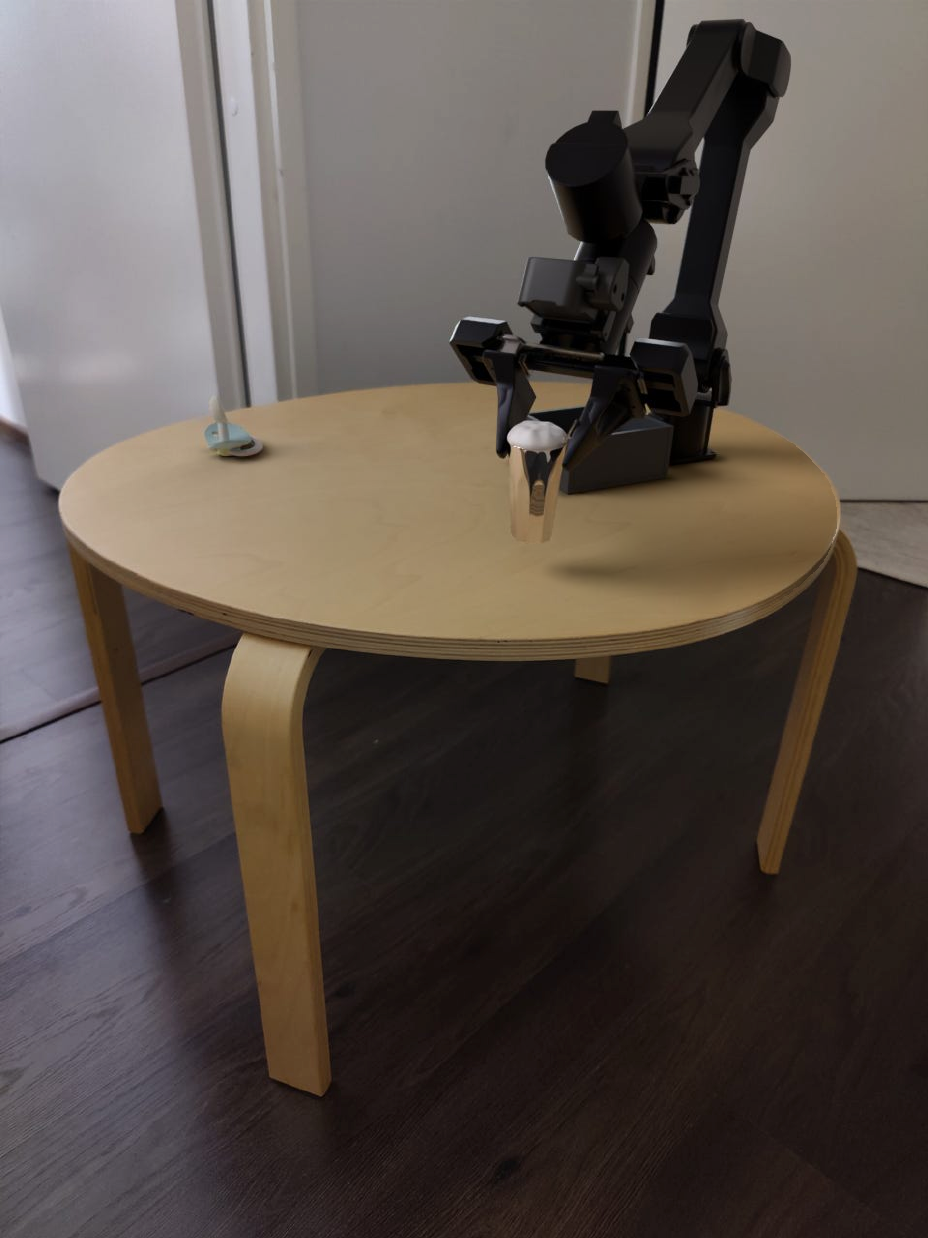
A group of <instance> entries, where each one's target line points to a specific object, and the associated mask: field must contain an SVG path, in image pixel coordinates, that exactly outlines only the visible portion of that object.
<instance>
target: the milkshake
mask: <svg viewBox="0 0 928 1238" xmlns="http://www.w3.org/2000/svg"><path fill="white" fill-rule="evenodd" d="M577 420H578V419H576V420H575V422H574V424H573V425H572V427H571V429H570V431H569V433H568V435H567V434H566V433H565V432H564V430H563V429H561V428H560V427H558V426H556V425H555V424H553V423H551V422H540V421H523V422H522V423H520V424H518V425H516V426H514V427H513V428H512V429H511V430H510V432H509V433H508V436H507V444H508V454H507V459H508V479H509V516H510V536H511V537H512V538H513V539H514V540H515V541H517V542H520V543H524V544H527V545H528V544H530V545H534V544H539V545H540V544H543V543H546V542H549V541H550V540H551V538H552V536H553V531H554V526H555V518H556V511H557V505H558V499H559V491H560V489H559V486H560V480H561V475H562V470H563V467H562V462H563V458H564V455H565V452H566V448H567V442H568V438H569V436H570V434H571V432H572V430H573V428H574V426H575V424H576V422H577Z"/></svg>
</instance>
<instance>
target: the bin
mask: <svg viewBox="0 0 928 1238" xmlns="http://www.w3.org/2000/svg"><path fill="white" fill-rule="evenodd" d="M585 406H586V404H585V405H576V406H567V407H561V408H552V409H544V410H535V411H530V412H529V414H528V416H527V418H526V420H525V421H540V422H551V423H553V424H555V425H556V426H558V427H560V428H561V429H563V430H564V432H565V433H566V434H567V435H568V433H569V431H570V429H571V427H572V425H573V424H574V422H575V420H576V419H578V420H577V422H576V424H575V426H574V428H573V430H572V432H571V434H570V436H569V438H568V442H567V446H568V443H569V441H570V439H571V437H572V435H573V432H574V430H575V428H576V426H577V423H578V421H579V419H580V417H581V415H582V412H583V410H584V408H585ZM673 430H674V426H672V425H670V424H667V423H665V422H663V421H660V420H658V419H656V418H654V417H651V416H649V415H648V413H646V415H645V417H644V418H643V419H637V418H634V419H631V420H630V421H629V422H627V423H626V424H625V425H623V426H622V427H621V428H619V429H618V430H617V431H615V432H614V433H613V434H611V435H610V436H609V437H607V438H606V439H605V440H604V441H603V442H602V443H601V444H599V445H598V446H597V447H596V448H595V449H594V450H593V451H592V452H591V453H590V454H589V455H588V456H587V457H585V458H584V459H583V460H582V461H581V462H580V463H579V464H578V465H577V466H576V467H575V468H574V469H573V470H572V471H570V472H565V471H564V469H563V470H562V475H561V480H560V486H559V491H561V492H563V493H565V495H572V494H578V493H584V492H590V491H597V490H601V489H607V488H615V487H620V486H625V485H632V484H638V483H645V482H649V481H656V480H662V479H667V478H668V472H669V466H670V464H669V459H670V452H671V444H672V437H673ZM566 449H567V448H566Z"/></svg>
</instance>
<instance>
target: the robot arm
mask: <svg viewBox="0 0 928 1238" xmlns="http://www.w3.org/2000/svg"><path fill="white" fill-rule="evenodd" d="M791 70H792V56H791V53H790V51H789V49H788V48H787V45H786V44H785V42H784V40H782V39H780V38H777V37H775V36H772V35H770V34H768V33H765V32H763V31H760V30H758V29H757V28H756V27H755V25H754V24H753V22H751V21H746V20H745V19H744V18H732V19H731V18H730V19H729V18H728V19H711V20H710V19H709V20H706V19H705V20H701V21H700V22H699V23H694V24H693V25H692V26H691V27H690V29H689V31H688V34H687V38H686V43H685V48H684V51H683V53H682V54H681V56H680V58H679V59H678V61H677V63H676V65H675V66H674V68H673V70H672V71H671V74H670V76H669V77H668V79H667V80H666V81H665V83H664V86H663V87H662V88H661V90H660V93H659V94H658V96H657V97H656V99H655V101H654V102H653V104H652V106H651V108H650V109H649V112H648V113H647V114H646V116H645V117H644V118H642V119H640V120H637V121H636V122H634V123H632V124H629V125H627V126H626V127H623V123H622V119H621V116H620V115H621V114H620V112H619V110H615V109H613V110H612V109H611V110H604V109H603V110H601V109H600V110H599V109H598V110H596V109H595V110H591V113H590V114H589V116H588V119H587V121H586V122H583V123H580V124H578V125H575V126H573V127H572V128H569V130H567V131H565V132H564V133H563V134H562V135H560V136H559V137H558V138H557V140H555V142H553V143H551V144H550V145H549V147H548V150H547V151H546V154H545V157H544V168H545V171H546V174H547V177H548V180H549V183H550V185H551V189H552V191H553V194H554V197H555V200H556V203H557V206H558V209H559V212H560V214H561V218H562V220H563V224H564V227H565V229H566V232H567V234H568V235H569V236H571V238H573V239H574V240H576V241H577V242H580V243H579V246H578V249H577V251H576V252H575V256H574V258H573V259H563V258H553V257H552V258H551V257H540V256H530V257H528V258H527V259H526V263H525V267H524V271H523V276H522V281H521V285H520V289H519V294H518V297H517V302H516V304H517V306H518V307H520V308H525V309H527V310H528V311H529V312H530V313H532V314H533V315H532V318H531V320H530V322H529V324H530V326H531V328H532V331H533V333H534V334H539V335H540V337H541V338H540V340H539V343H538V342H530V341H526V340H525V339H523V338H522V337H521V336H518V335H514V333H513V331H512V329H511V327H510V325H509V322H508V321H507V320H501V319H492V318H484V317H478V316H477V317H476V316H466V317H464V318H461V319H459V321H458V323H457V324H456V325H455V328H454V330H453V333H452V335H451V337H450V339H449V341H448V343H449V345H450V347H451V348H452V349H451V350H453V351H454V354H455V355H456V357H457V359H458V360H459V361H460V363H461V365H462V366H463V368H464V370H465V371H466V373H467V375H468V376H469V378H470V379H471V380H472V381H474V382H476V383H477V384H480V385H486V386H492V387H496V393H497V411H496V412H497V415H496V416H497V417H496V437H495V438H496V439H495V453H496V455H497V456H498V458H499V459H502V460H504V459H506V457H508V444H507V436H508V433H509V432H510V430H511V429H512V428H513V427H514V426H516V425H518V424H520V423H522V422H523V421H525V420H526V418H527V416H528V414H529V412H531V409H532V407H533V406H534V403H535V401H536V399H537V395H536V392H535V391H534V389H533V387H532V385H531V383H530V382H529V381H530V378H531V377H532V374H533V372H534V371H536V372H543V373H546V374H552V375H559V376H566V377H573V378H579V379H586V380H591V381H592V382H591V389H590V393H589V397H588V399H587V401H586V403H585V405H586V406H585V408H584V410H583V412H582V415H581V417H580V419H579V421H578V423H577V426H576V428H575V430H574V432H573V435H572V437H571V439H570V441H569V443H568V446H567V449H566V452H565V455H564V458H563V462H562V467H563V469H564V471H565V472H570V471H572V470H573V469H574V468H575V467H576V466H577V465H578V464H579V463H580V462H581V461H582V460H583V459H584V458H585V457H587V456H588V455H589V454H590V453H591V452H592V451H593V450H594V449H595V448H596V447H597V446H598V445H599V444H601V443H602V442H603V441H604V440H605V439H606V438H607V437H609V436H610V435H611V434H613V433H614V432H615V431H617V430H618V429H619V428H621V427H622V426H623V425H625V424H626V423H627V422H629V421H630V420H631V419H634V418H637V419H643V418H644V417H645V415H646V414H647V415H649V416H651V417H654V418H656V419H658V420H660V421H663V422H665V423H667V424H670V425H672V426H674V430H673V437H672V444H671V452H670V459H669V465H670V464H671V465H677V464H683V463H689V462H694V461H700V460H707V459H713V458H714V459H715V458H717V456H718V455H717V454H718V452H717V451H715V450H713V449H710V448H709V443H710V436H711V431H712V423H713V417H714V412H715V409H718V408H719V407H727V406H729V404H730V400H731V394H732V382H733V381H732V380H733V377H732V371H731V370H732V369H731V368H732V367H731V363H730V357H729V351H728V348H726V347H727V341H728V333H729V332H728V330H727V327H726V324H725V322H724V319H723V316H722V315H723V314H722V313H721V310H720V307H719V302H720V297H721V292H722V289H723V288H722V287H723V284H724V279H725V273H726V269H727V264H728V259H729V254H730V249H731V246H732V240H733V235H734V231H735V227H736V226H735V225H736V220H737V216H738V211H739V206H740V202H741V197H742V192H743V187H744V183H745V179H746V173H747V169H748V164H749V159H750V155H751V150H752V149H753V148H754V147H755V145H756V144H757V142H759V141H760V139H761V138H762V137H763V136H764V134H765V133H766V132H767V130H768V129H769V128H770V127H771V126H772V124H773V123H774V121H775V118H776V114H777V110H778V107H779V102H780V98H783V97H784V96H785V95H786V92H787V90H788V85H789V82H790V77H791ZM702 140H703V141H702ZM702 142H703V143H702ZM701 143H702V148H701V154H700V159H699V162H698V165H697V162H696V152H697V150H698V148H699V146H700V144H701ZM689 209H690V210H689ZM688 210H689V215H688V221H687V226H686V231H685V236H684V240H683V246H682V251H681V256H680V262H679V266H678V267H679V268H678V270H677V271H678V272H677V277H676V282H675V287H674V292H673V297H672V298H671V300H670V301H669V303H668V304H666V306H665V307H664V309H663V310H662V311H661V312H660V311H657V312H656V313H655V314H654V315H653V317H652V319H651V321H650V326H649V334H648V338H645V337H640V338H637V339H636V340H634V341H633V344H632V347H631V349H630V352H629V356H628V355H619V354H616V353H617V351H618V348H619V346H620V343H621V341H622V338H623V335H624V334H631V332H632V329H633V328H634V327H633V326H634V325H635V320H634V317H633V315H632V313H633V310H634V308H635V305H636V302H637V301H638V298H639V295H640V292H641V289H642V287H643V285H644V281H645V280H646V278H647V276H653V275H654V274H655V272H656V258H655V254H656V252H657V249H658V244H659V243H658V237H657V235H656V232H655V229H654V227H653V226H652V224H654V225H676V224H677V223H678V222H679V221H680V220H681V219H682V218H683V216H684V214H685V212H686V211H688ZM710 389H711V390H710ZM647 408H648V409H649V412H648V411H647ZM647 412H648V413H647Z"/></svg>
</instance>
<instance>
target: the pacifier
mask: <svg viewBox="0 0 928 1238" xmlns="http://www.w3.org/2000/svg"><path fill="white" fill-rule="evenodd" d="M208 409H209V413H210V415H211V417H212V419H213V420H214V421H215V422H213V423H211V424H209V425H208V426H207V427H206V428H205V430H204V433H203V436H204V439H205V441H206V443H207V444H209V445H207V449H211V450H216V451H217V454H218V455H220V456H224V457H229V456H236V457H247V456H253V455H257V454H258V453H260V452H261V451H262V449H263V442H261V440H260V439H258V438H257V437H254V436H251V435H250V434H249V432H248V431H247V430H246V429H245V428H243V427H242V426H240V425H239V424H236V423H232V422H230V421H229V420H228V416H227V413H226V411H225V408H224V406H223V403H222V402H221V399H220V398H219V396H218V395H217V394H215V395H213V396H211V398H210V400H209V402H208ZM213 435H216V436H213ZM248 444H250V445H252V446H251V447H250V448H246V449H242V448H241V447H243V446H245V445H248Z"/></svg>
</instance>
